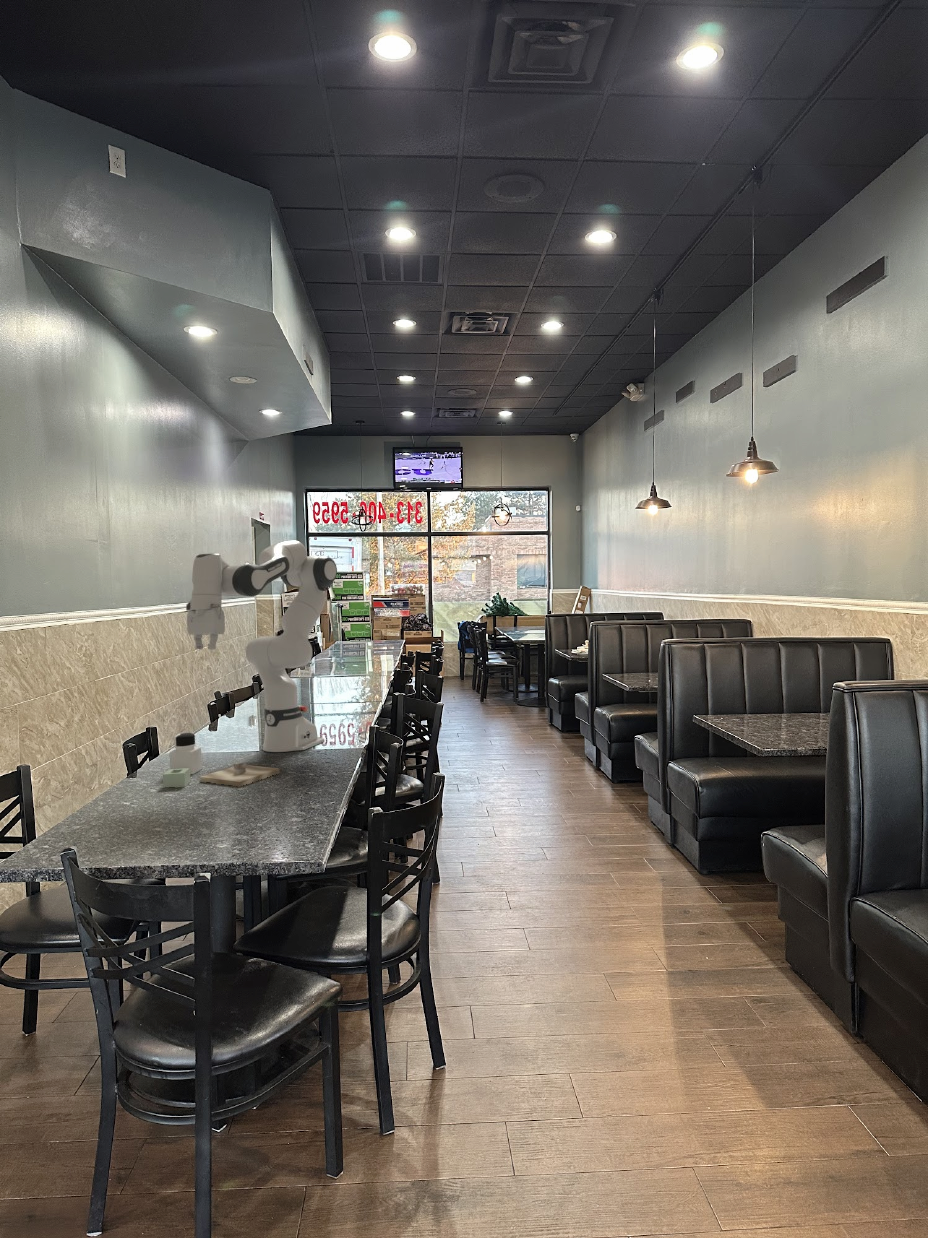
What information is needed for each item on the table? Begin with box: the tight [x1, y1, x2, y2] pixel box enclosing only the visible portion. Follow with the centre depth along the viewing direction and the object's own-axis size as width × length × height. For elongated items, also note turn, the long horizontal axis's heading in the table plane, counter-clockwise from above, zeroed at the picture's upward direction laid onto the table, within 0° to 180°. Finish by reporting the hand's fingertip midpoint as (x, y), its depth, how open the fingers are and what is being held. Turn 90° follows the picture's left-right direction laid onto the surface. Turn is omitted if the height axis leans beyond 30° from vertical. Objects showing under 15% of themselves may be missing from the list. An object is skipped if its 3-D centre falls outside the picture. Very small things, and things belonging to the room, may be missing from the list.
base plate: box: [199, 761, 280, 788], centre depth 235 cm, size 16×16×4 cm
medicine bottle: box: [169, 732, 203, 775], centre depth 245 cm, size 7×7×12 cm
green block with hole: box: [162, 768, 191, 789], centre depth 230 cm, size 6×6×4 cm
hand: (205, 649), depth 243 cm, fingers open, 8 cm apart
